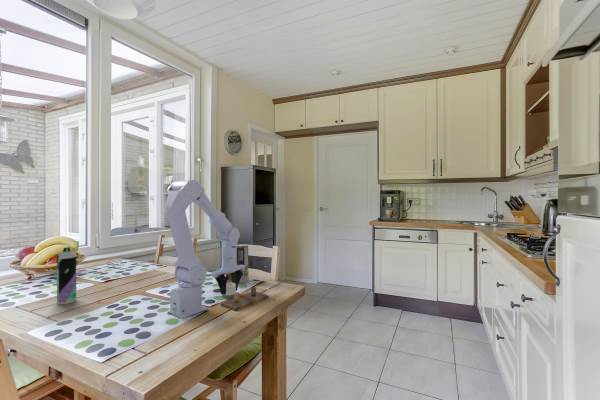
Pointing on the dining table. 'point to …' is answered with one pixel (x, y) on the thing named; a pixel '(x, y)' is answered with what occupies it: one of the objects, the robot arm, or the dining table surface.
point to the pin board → (244, 300)
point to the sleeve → (230, 290)
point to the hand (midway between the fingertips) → (229, 292)
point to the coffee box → (241, 260)
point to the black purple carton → (66, 277)
